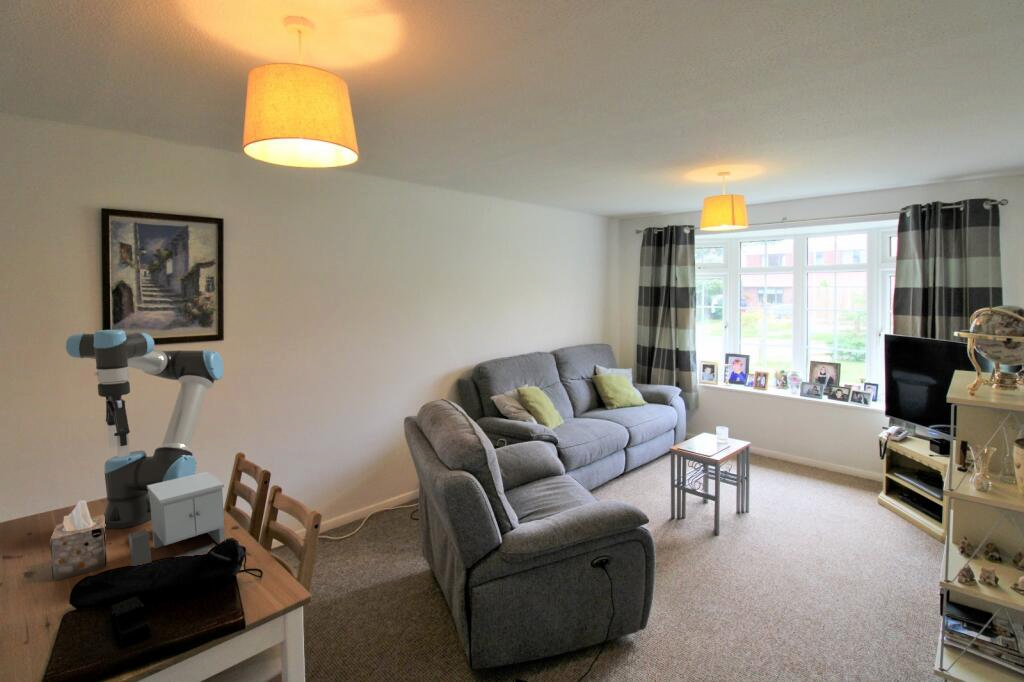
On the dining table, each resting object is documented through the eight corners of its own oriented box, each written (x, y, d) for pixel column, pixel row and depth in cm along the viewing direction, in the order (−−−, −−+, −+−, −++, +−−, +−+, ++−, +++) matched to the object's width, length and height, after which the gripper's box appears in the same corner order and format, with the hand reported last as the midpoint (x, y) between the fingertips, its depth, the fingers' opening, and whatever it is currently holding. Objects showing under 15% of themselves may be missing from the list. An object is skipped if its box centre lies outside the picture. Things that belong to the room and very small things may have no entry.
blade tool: (131, 574, 145) (128, 533, 143) (213, 546, 160) (211, 509, 159) (135, 579, 142) (131, 538, 141) (217, 550, 158) (215, 513, 156)
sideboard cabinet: (151, 546, 160) (146, 485, 158) (211, 528, 172) (207, 471, 170) (165, 567, 148) (160, 501, 146) (228, 545, 161) (224, 484, 158)
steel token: (188, 561, 152) (188, 553, 152) (207, 554, 156) (207, 547, 156) (194, 567, 149) (193, 559, 149) (213, 560, 152) (212, 553, 152)
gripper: (90, 378, 158) (96, 444, 160) (105, 389, 141) (111, 463, 143) (120, 374, 163) (126, 439, 166) (138, 385, 146) (143, 457, 149)
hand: (119, 450), depth 154 cm, fingers open, 13 cm apart
